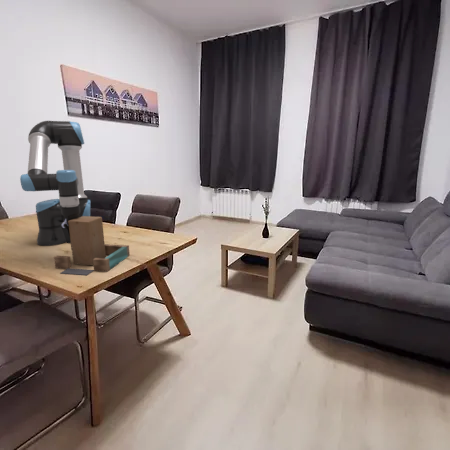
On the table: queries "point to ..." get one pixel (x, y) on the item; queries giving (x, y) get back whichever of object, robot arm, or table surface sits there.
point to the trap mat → (77, 271)
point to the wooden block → (86, 239)
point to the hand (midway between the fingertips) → (76, 256)
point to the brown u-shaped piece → (100, 264)
